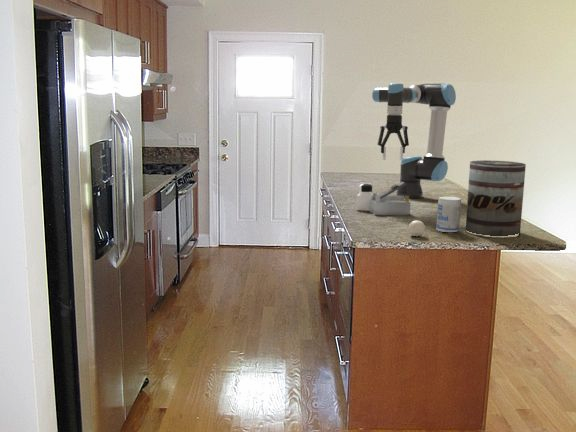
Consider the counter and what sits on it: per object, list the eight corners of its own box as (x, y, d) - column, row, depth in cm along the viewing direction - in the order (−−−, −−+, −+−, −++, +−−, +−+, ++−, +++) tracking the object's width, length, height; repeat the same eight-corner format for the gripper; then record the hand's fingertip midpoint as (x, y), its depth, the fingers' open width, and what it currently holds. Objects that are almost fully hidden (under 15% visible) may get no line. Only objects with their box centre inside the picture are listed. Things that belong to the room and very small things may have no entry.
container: (373, 208, 334) (374, 183, 331) (371, 211, 326) (372, 185, 324) (359, 207, 336) (359, 182, 333) (355, 210, 329) (356, 184, 326)
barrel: (455, 231, 280) (459, 162, 274) (482, 225, 295) (487, 159, 289) (503, 240, 264) (509, 167, 258) (529, 233, 279) (535, 163, 273)
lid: (403, 183, 322) (401, 180, 322) (405, 184, 318) (404, 181, 318) (375, 199, 322) (374, 196, 322) (377, 201, 318) (376, 197, 318)
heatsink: (403, 211, 328) (404, 192, 326) (409, 214, 318) (410, 195, 317) (369, 211, 326) (369, 192, 324) (374, 214, 316) (375, 195, 314)
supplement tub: (432, 231, 279) (434, 197, 277) (442, 228, 286) (444, 195, 284) (452, 234, 273) (455, 200, 270) (462, 231, 280) (465, 197, 278)
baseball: (406, 237, 267) (407, 221, 266) (409, 234, 273) (410, 218, 272) (422, 239, 264) (423, 222, 263) (425, 235, 271) (426, 219, 270)
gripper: (376, 114, 320) (374, 160, 325) (417, 115, 323) (414, 160, 327) (372, 114, 328) (370, 158, 332) (412, 114, 330) (410, 159, 335)
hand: (392, 159), depth 330 cm, fingers open, 8 cm apart
